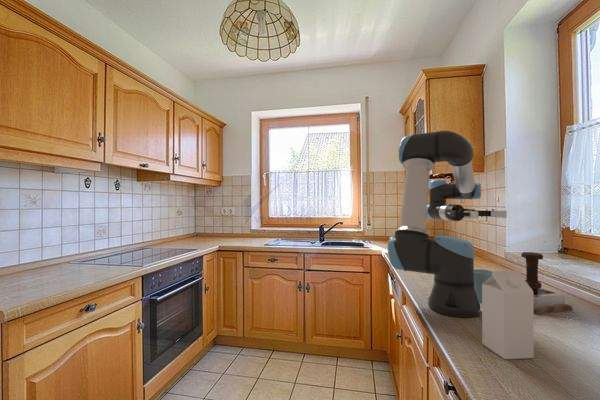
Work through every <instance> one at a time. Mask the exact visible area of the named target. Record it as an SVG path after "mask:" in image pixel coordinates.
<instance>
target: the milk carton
mask: <svg viewBox="0 0 600 400" xmlns="http://www.w3.org/2000/svg"><path fill="white" fill-rule="evenodd" d="M491 271H492V276H491V277H490V278H489V279H487V280H486V281H485V282H484V283H482V303H481V313H482V314H481V315H482V316H481V322H482V323H481V325H482V326H481V336H482V337H481V342H482V345H484V346H485V348H487V349H489V350H490V351H492V352H493V353H494V354H496V355H497V354H498V355H497V356H498V357H500V356H501V358H502V359H503V360H519V359H521V360H522V359H533V358H534V356H535V355H534V352H535V351H534V346H535V344H534V343H535V342H534V341H535V340H534V339H535V338H534V335H535V334H534V333H535V332H534V331H535V330H534V315H535V314H534V310H533V290H532V289H531V288H530V286H529V285H528V284H527V282H526V281H525V280H526V279H525V278H523V276H522V271H521V270H520V269H518V270H517V269H515V270H491Z"/></svg>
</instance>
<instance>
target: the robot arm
mask: <svg viewBox="0 0 600 400" xmlns="http://www.w3.org/2000/svg"><path fill="white" fill-rule="evenodd" d="M473 159H474V149H473V146H472V144H471V143H470V141H468V139H466V137H464V136H463V135H461V134H460V133H457V132H455V131H451V130H439V131H433V132H432V131H431V132H423V133H413V134H408V135H406V136H404V137H403V138H402V139H401V140H400V143H399V146H398V160H399V164H401V165H402V167H403V169H404V170H405V177H404V185H403V186H404V187H403V195H402V197H403V199H402V204H401V205H402V206H401V215H400V223H399V228H397V229H396V230H395V232H394V236H390V237H389V238H388V242H387V255H388V259H389V263H390V265H391V266H392V268H393V269H396V270H400V271H404V272H414V273H421V274H429V275H433V284H432V285H433V286H432V288H431V291H430V295H429V297H428V302H427V304H428V307H429V308H430V309H431V310H432V311H434V312H436V313H438V314H442V315H446V316H450V317H456V318H475V317H478V316H480V315H481V313H482V309H481V304H480V302H478V298H477V295H476V292H475V289H474V269H475V263H474V262H475V259H476V258H475V257H476V256H475V251H474V250H475V249H474V244H473V243H472V242H471V241H469V240H466V239H463V238H459V237H453V236H449V235H448V236H447V235H435V236H433V239H430V234H429V233H428V232H427V231H426V225H427V224H426V223H427V218H428V219H432V220H440V221H441V220H442V221H446V222H449V221H452V222H460V221H462V220H463V219H464V218H465V219H466V218H468V219H479V217H486V218H487V217H490V218H498V219H499V218H502V219H507V218H508V217H507V215H508V214H507V213H508V211H507V210H495V209H494V208H491V210H477V209H470V208H464V206H462V205H461V204H450V203H449V204H448V203H447V200H479V199H481V197H482V184H481V183H480V182H476V181H475V174H474V168H473ZM444 162H447V164H448V165H450V168H451V171H452V175H453V178H454V183H447V180H445V179H433V180H431V181H430V172H431V171H432V170H433V169H434V168H435V164H436V163H444ZM428 199H429V204H428Z"/></svg>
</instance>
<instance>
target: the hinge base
mask: <svg viewBox="0 0 600 400" xmlns="http://www.w3.org/2000/svg"><path fill="white" fill-rule="evenodd" d="M533 310H534V315H543V314H550V313H551V314H552V313H559V312H568V311H569V312H570V311H573V305H572V304H567V303H566V294H565V293H562V292H559V291H555V290H551V289H548V288H544V287H541V288H540V289H538V295H533Z"/></svg>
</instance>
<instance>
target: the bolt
mask: <svg viewBox="0 0 600 400" xmlns="http://www.w3.org/2000/svg"><path fill="white" fill-rule="evenodd" d="M521 258H524V259H525V266H526V267H525V269H526V271H525V272H526V273H525V276H526V277H525V278H526V279H524V280H525V281H526V282H527V284H528V285H529V286H530V288H531V289H532V290H533V295H538V289H540V288H543V287H542V286H543V285H542V282H540V281H539V274H538V273H539V260H544V256H543V254H542V253H538V252H530V251H527V252H526V251H524V252H521Z"/></svg>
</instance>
